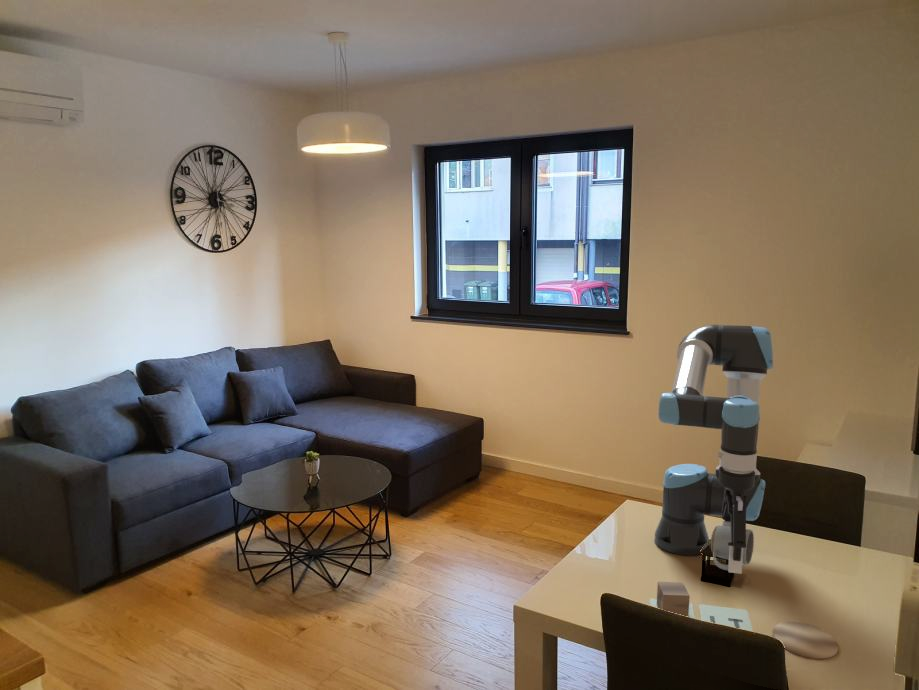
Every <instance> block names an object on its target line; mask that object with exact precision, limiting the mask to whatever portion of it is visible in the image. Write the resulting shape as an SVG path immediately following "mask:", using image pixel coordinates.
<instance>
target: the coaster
mask: <svg viewBox="0 0 919 690" xmlns="http://www.w3.org/2000/svg"><path fill="white" fill-rule="evenodd" d="M774 637H775V638H777V639H779V640H781V641H782V642H783V644H784V646H785V650H787V652H790V653H792V654H794V655H797V656H799V657H803V658H808V659H815V660H826V659H830V658H832V657H834V656H836V655H837V654H838V652H839V644H838V641H837V640H836V638H834V637H833V636H832V635H831V634H830V633H829V632H827V631H826V630H824V629H822V628H819V627H818V626H815V625H813V624H808V623H804V622H799V621H783V622H779V623H777V624H775V626H774V627H773V629H772V638H774Z"/></svg>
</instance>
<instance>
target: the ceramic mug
mask: <svg viewBox="0 0 919 690" xmlns="http://www.w3.org/2000/svg"><path fill="white" fill-rule="evenodd" d="M754 538H755V537H754V532H753V530H752V529H747V528H746V548H744V549H743V563H742V565H746V566H747V565H749V564H750V563H751V561H752V558H753V554H754V544H755V543H754V542H755V539H754ZM729 542H730V543H731V527H729V526H722V525H716V526H715V527H714V528H713V530H712V533H711V538H710V549H711V550H710V551H711V553H712V559H713V563H714V565H715V566H716V567H718V568H719V569H721V570H724V571H728V565H729V564H723V563H721V562H719V561H718V560H717V559H716V557H718V558H719V559H720V558H721V559H724V560H728V561H729V550H730V546H728V543H729Z"/></svg>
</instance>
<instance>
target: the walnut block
mask: <svg viewBox="0 0 919 690" xmlns="http://www.w3.org/2000/svg"><path fill="white" fill-rule="evenodd" d="M656 591H657V592H656V599H657V606H658V608H660V609H663V610H666V611H670V612H673V613H677V614H681V615H684V616H688V615H689V603H690V593H689V592H688V590H687V587H686V586H685V584H684V582H681V581H680V582H679V581H678V582H677V581H657V589H656Z"/></svg>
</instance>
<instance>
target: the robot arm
mask: <svg viewBox="0 0 919 690" xmlns="http://www.w3.org/2000/svg"><path fill="white" fill-rule="evenodd" d="M772 343H773V342H772V335H771V332H770V330H769V328H767V327H765V326H764V327H761V326H754V325H731V324H730V325H728V324H727V325H725V324H707V325H703V326H701V327H698V328H696V329H694V330H692V331H691V332H689V333H688V334H686V336H685V337H683V338H682V340H681V341H680V343H679V345H678V347H677V350H676V358H677V361H678V363H677V367H676V371H675V376H674V379H673V383H672V387H671V392H663V393H661V394H660V397H659V401H658V420H659V422H661V423H662V424H663V423H664V424H668V425H673V426H687V427H697V428H707V429H716V430H721V434H720V435H721V438H720V439H721V441H720V452H717V453H716V456H717V457H719V465H717V466H716V467H715V473H710V472H708V469H707V468H706V467H705V466H703V465H700V464H697V463H696V464H695V463H680V464H675V465H673V466H669V468H667V469H666V470H665V472H664V476H663V482H662V487H663V489H662V491H663V492H662V494H663V495H662V506H661V507H662V509H661V511H662V512H661V518H660V519H659V523H658V525H657V527H656V530H655V533H654V543H655V545H656V546H657V547H659V548H660V549H662V550H663V551H665V552H668V553H671V554H675V555H681V556H690V557H691V556H699V555H701V554H700V550H701V549H702V547H703V546H704V544H705V543H706V542H708V541H709V542H710V538H709V534H708V532H707V526H706V524H705V515H706V516H713V517H714V516H715V517H721V518H722V524H721V526H729V527H731V543H730V542H729V543H728V546H730V550H729V560H728V564H727V565H728V570H727V571H728V573H733V574H740V575H741V574H743V564H742V563H743V549H744V548H746V529H747V522H749V521H751V522H754V521H756V520H757V519H758V518H759V516H760V512H761V509H762V506H763V500H764V495H765V488H766V481H765V480H764V479H762V478H761V472H760V471H759V470H758V469H757V457H758V451H757V450H758V449H757V447H758V438H759V425H760V421H761V417H760V416H761V414H760V393H761V390H760V389H761V382H762V380H763V379H764V378H765V377H767V374H768V370H772V369H773V367H774V360H773V359H774V355H773V344H772ZM710 365H713V366H719V367H720V366H721V367H722V371H721V373H722V374H723V375H724V377H726V378H727V380H726V382H727V383H726V394H725V396H726V397H718V396H709V395H708V396H707V395H704V391H705V384H706V379H707V378H706V377H707V372H708V367H709V366H710Z"/></svg>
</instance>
